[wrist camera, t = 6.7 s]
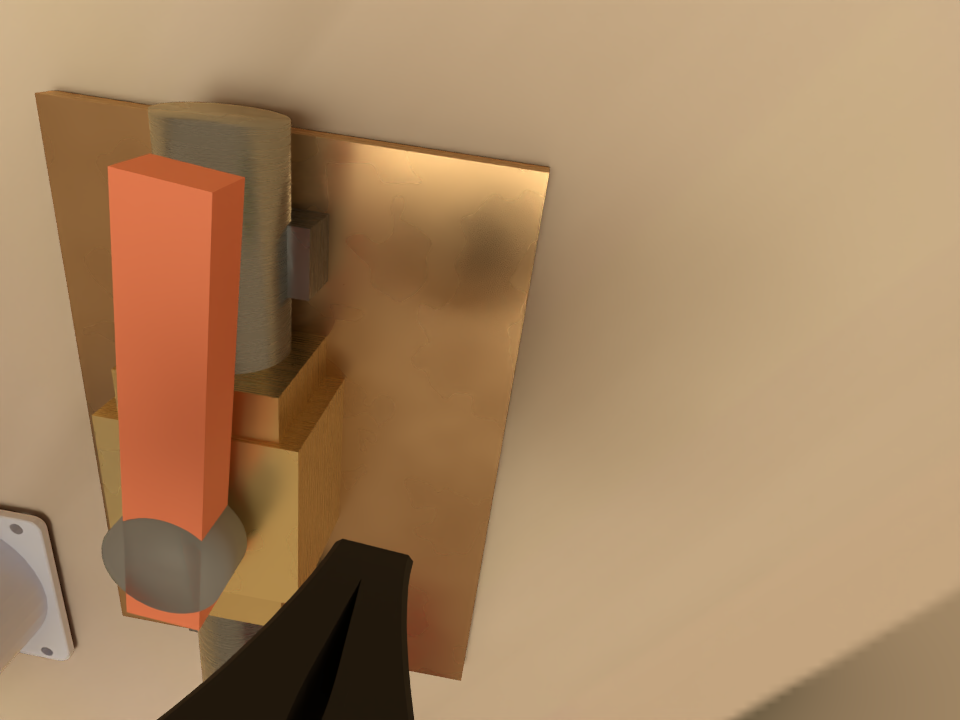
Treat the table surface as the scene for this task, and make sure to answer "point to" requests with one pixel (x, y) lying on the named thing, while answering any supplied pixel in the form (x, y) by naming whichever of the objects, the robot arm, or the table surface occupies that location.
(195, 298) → the lever
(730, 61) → the table surface
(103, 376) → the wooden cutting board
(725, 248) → the table surface
